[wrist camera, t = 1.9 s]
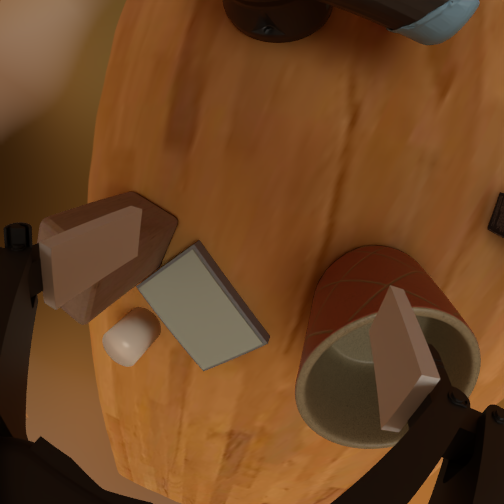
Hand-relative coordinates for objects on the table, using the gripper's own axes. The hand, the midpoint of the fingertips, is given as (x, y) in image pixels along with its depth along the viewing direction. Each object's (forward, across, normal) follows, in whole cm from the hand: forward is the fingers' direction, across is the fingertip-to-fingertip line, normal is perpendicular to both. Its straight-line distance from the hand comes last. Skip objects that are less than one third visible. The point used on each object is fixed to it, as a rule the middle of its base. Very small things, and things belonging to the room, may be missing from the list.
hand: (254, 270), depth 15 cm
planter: (+28, +15, -12) cm, 34 cm away
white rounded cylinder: (+28, -21, -30) cm, 46 cm away
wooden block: (+28, -22, -12) cm, 38 cm away
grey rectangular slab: (+28, -10, -23) cm, 37 cm away
